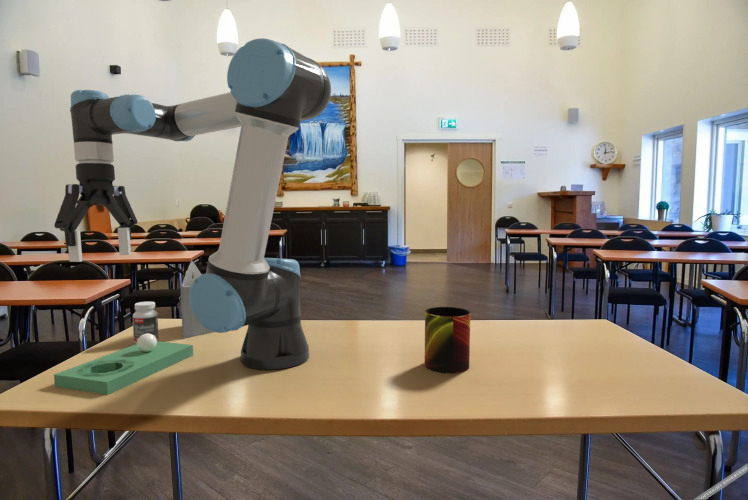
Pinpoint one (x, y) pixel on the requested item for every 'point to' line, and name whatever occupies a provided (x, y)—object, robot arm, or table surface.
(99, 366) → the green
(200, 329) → the planter
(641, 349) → the table surface
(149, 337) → the ball
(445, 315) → the mug
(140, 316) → the pill bottle
